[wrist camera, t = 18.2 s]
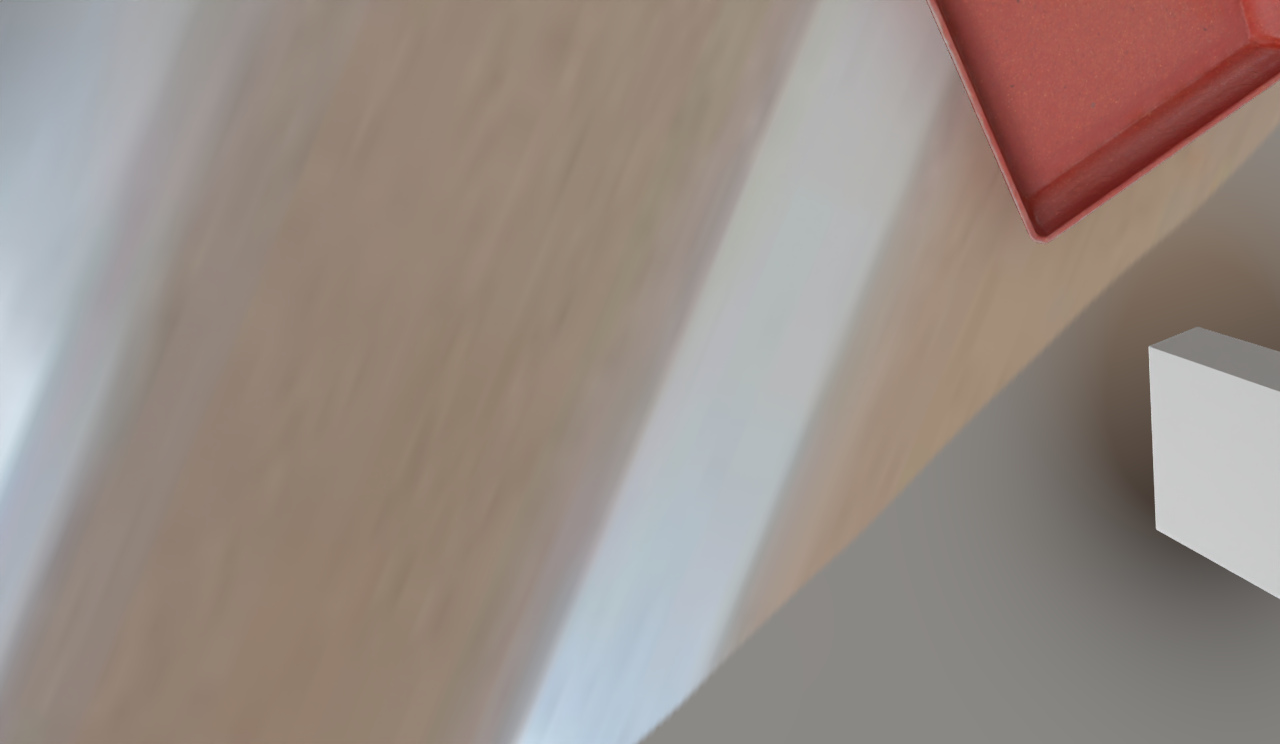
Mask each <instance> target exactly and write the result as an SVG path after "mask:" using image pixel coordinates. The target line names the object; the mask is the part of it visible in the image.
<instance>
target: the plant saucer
mask: <svg viewBox="0 0 1280 744" xmlns="http://www.w3.org/2000/svg"><path fill="white" fill-rule="evenodd" d="M926 1H927V3H928V6H929V8H930V10H931V13H932V15H933V17H934V19H935V22H936V24H937V26H938V28H939V31H940V33H941V35H942V38H943V40H944V42H945V44H946V47H947V49H948V51H949V54H950V56H951V58H952V60H953V63H954V65H955V67H956V70H957V72H958V74H959V76H960V79H961V81H962V83H963V86H964V88H965V90H966V92H967V95H968V97H969V99H970V102H971V104H972V106H973V109H974V111H975V113H976V116H977V118H978V120H979V123H980V125H981V127H982V129H983V132H984V134H985V136H986V138H987V141H988V143H989V145H990V148H991V150H992V152H993V154H994V157H995V159H996V161H997V164H998V166H999V168H1000V171H1001V173H1002V175H1003V178H1004V180H1005V182H1006V184H1007V187H1008V189H1009V191H1010V194H1011V196H1012V198H1013V200H1014V203H1015V205H1016V207H1017V209H1018V212H1019V214H1020V216H1021V218H1022V221H1023V223H1024V225H1025V227H1026V230H1027V232H1028V234H1029V236H1030V237H1031V239H1032V240H1033V241H1034V242H1036V243H1041V244H1046V243H1048V242H1050V241H1052V240H1054V239H1055V238H1056V237H1058V236H1059V235H1061V234H1062V233H1063V232H1065V231H1066V230H1068V229H1069V228H1071V227H1072V226H1074V225H1076V224H1077V223H1078V222H1079V221H1081V220H1082V219H1083V218H1085V217H1086V216H1088V215H1089V214H1090V213H1092V212H1093V211H1095V210H1096V209H1097V208H1099V207H1100V206H1102V205H1103V204H1104V203H1106V202H1107V201H1109V200H1110V199H1111V198H1113V197H1114V196H1116V195H1117V194H1119V193H1120V192H1121V191H1123V190H1124V189H1126V188H1127V187H1129V186H1130V185H1132V184H1133V183H1135V182H1136V181H1137V180H1139V179H1140V178H1141V177H1143V176H1144V175H1146V174H1147V173H1149V172H1150V171H1151V170H1152V169H1154V168H1155V167H1157V166H1158V165H1160V164H1161V163H1163V162H1164V161H1165V160H1167V159H1168V158H1170V157H1171V156H1173V155H1174V154H1176V153H1177V152H1179V151H1180V150H1181V149H1183V148H1184V147H1185V146H1187V145H1188V144H1190V143H1191V142H1193V141H1194V140H1195V139H1196V138H1198V137H1199V136H1201V135H1203V134H1204V133H1205V132H1207V131H1208V130H1210V129H1211V128H1212V127H1214V126H1215V125H1216V124H1218V123H1219V122H1221V121H1223V120H1224V119H1226V118H1227V117H1228V116H1230V115H1231V114H1233V113H1234V112H1235V111H1237V110H1238V109H1240V108H1241V107H1242V106H1244V105H1245V104H1247V103H1248V102H1250V101H1251V100H1252V99H1254V98H1255V97H1257V96H1258V95H1259V94H1261V93H1262V92H1263V91H1265V90H1267V89H1268V88H1270V87H1271V86H1273V85H1274V84H1275V83H1277V82H1278V81H1280V0H926Z"/></svg>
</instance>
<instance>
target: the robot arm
mask: <svg viewBox="0 0 1280 744" xmlns="http://www.w3.org/2000/svg"><path fill="white" fill-rule="evenodd" d="M1149 370H1150V394H1151V416H1152V417H1151V418H1152V439H1153V440H1152V442H1153V466H1154V490H1155V515H1156V529H1157V530H1158V531H1160V532H1162V533H1164V534H1165V535H1167V536H1169V537H1171V538H1173V539H1174V540H1176V541H1178V542H1180V543H1181V544H1183V545H1185V546H1187V547H1189V548H1190V549H1192V550H1194V551H1196V552H1197V553H1199V554H1201V555H1203V556H1205V557H1206V558H1208V559H1210V560H1212V561H1213V562H1215V563H1217V564H1219V565H1221V566H1222V567H1224V568H1226V569H1228V570H1229V571H1231V572H1233V573H1235V574H1237V575H1238V576H1240V577H1242V578H1244V579H1246V580H1247V581H1249V582H1251V583H1253V584H1254V585H1256V586H1258V587H1260V588H1262V589H1263V590H1265V591H1267V592H1269V593H1270V594H1272V595H1274V596H1276V597H1278V598H1280V352H1279V351H1275V350H1272V349H1269V348H1265V347H1262V346H1259V345H1256V344H1252V343H1249V342H1246V341H1242V340H1239V339H1236V338H1233V337H1229V336H1226V335H1223V334H1219V333H1216V332H1213V331H1210V330H1206V329H1203V328H1200V327H1196V328H1193V329H1191V330H1188V331H1186V332H1183V333H1181V334H1178V335H1176V336H1173V337H1171V338H1168V339H1166V340H1164V341H1161V342H1158V343H1156V344H1153V345H1151V346H1149Z"/></svg>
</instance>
